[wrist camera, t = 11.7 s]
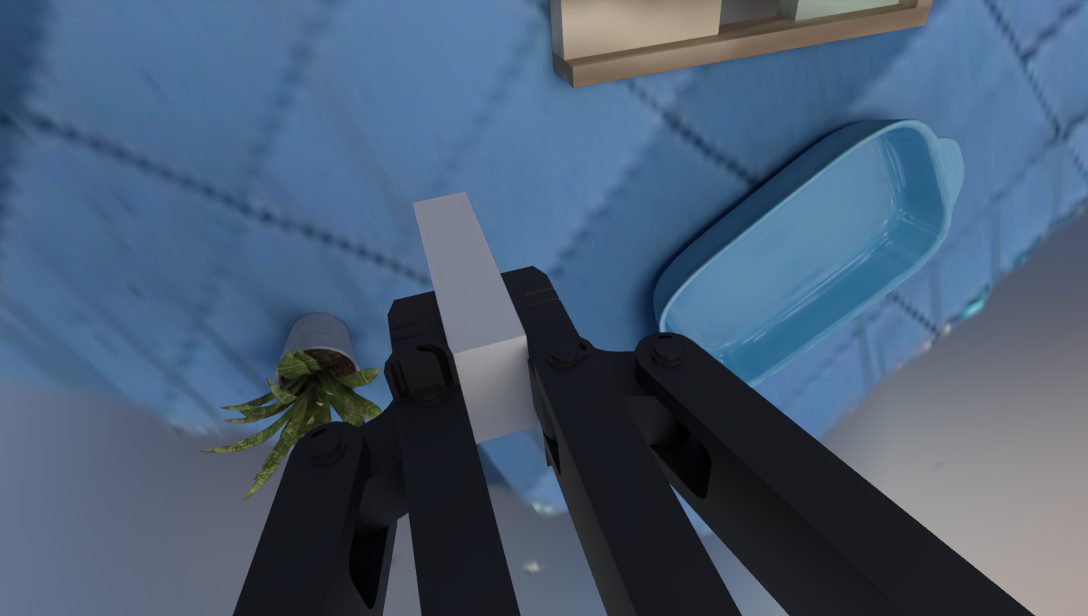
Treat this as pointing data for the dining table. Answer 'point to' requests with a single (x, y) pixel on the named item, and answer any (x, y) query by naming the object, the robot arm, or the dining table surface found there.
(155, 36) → the dining table surface
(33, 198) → the dining table surface
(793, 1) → the box
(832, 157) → the casserole dish
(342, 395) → the house plant
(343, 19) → the dining table surface
